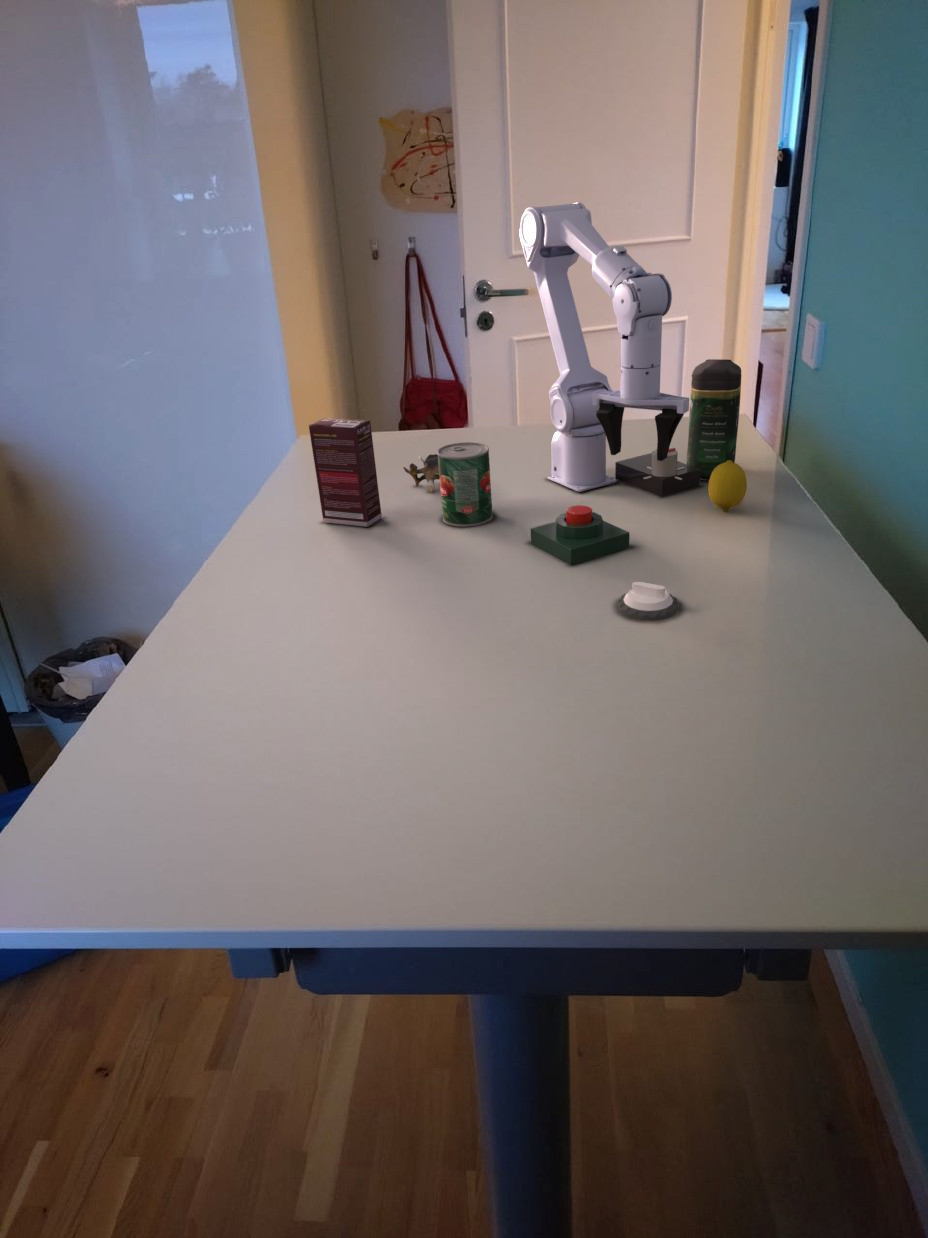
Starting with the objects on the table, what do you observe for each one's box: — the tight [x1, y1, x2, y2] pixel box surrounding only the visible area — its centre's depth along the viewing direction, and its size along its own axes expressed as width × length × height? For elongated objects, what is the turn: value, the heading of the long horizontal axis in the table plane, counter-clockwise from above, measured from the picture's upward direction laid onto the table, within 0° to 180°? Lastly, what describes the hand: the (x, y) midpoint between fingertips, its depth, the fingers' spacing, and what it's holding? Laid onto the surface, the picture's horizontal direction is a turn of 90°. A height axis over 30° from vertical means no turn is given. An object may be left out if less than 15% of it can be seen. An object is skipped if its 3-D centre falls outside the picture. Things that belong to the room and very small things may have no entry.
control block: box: [530, 511, 630, 566], centre depth 127 cm, size 10×10×4 cm
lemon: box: [707, 460, 748, 513], centre depth 134 cm, size 6×6×8 cm
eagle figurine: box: [403, 453, 440, 493], centre depth 153 cm, size 8×7×9 cm
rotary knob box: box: [614, 452, 701, 498], centre depth 148 cm, size 14×10×3 cm
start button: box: [565, 504, 593, 525], centre depth 126 cm, size 4×4×2 cm
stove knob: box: [617, 581, 680, 622], centre depth 108 cm, size 7×7×3 cm
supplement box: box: [308, 417, 382, 528], centre depth 140 cm, size 9×5×16 cm, turn 65°
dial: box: [651, 447, 679, 477], centre depth 143 cm, size 4×4×4 cm
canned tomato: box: [436, 441, 494, 528], centre depth 138 cm, size 8×8×11 cm
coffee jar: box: [686, 358, 742, 481], centre depth 148 cm, size 10×8×19 cm
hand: (638, 456), depth 136 cm, fingers open, 7 cm apart
